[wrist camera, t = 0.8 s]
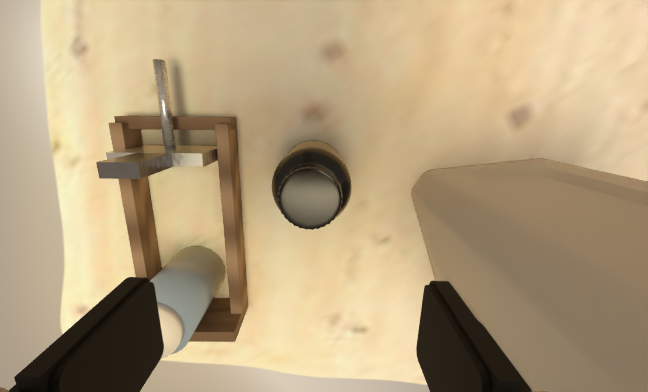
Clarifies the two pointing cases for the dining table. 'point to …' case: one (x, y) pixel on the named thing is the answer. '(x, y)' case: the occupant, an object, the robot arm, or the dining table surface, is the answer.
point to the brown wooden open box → (222, 312)
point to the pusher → (156, 157)
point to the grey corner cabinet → (547, 266)
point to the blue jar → (186, 294)
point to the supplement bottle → (311, 185)
